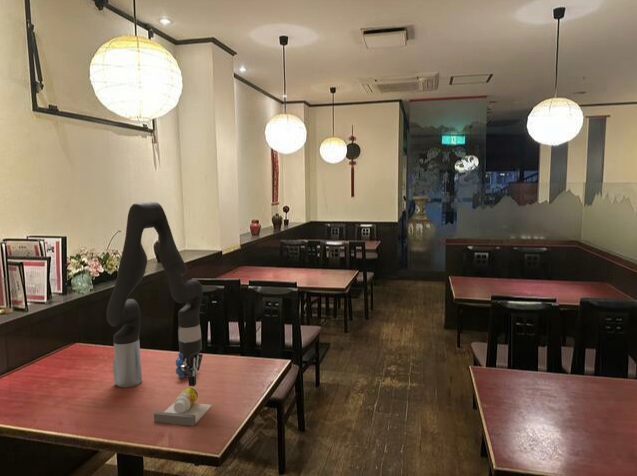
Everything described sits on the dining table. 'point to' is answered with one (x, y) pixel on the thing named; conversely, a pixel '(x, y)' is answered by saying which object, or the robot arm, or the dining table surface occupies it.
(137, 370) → the robot arm
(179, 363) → the grapes
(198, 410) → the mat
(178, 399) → the supplement bottle
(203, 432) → the dining table surface
